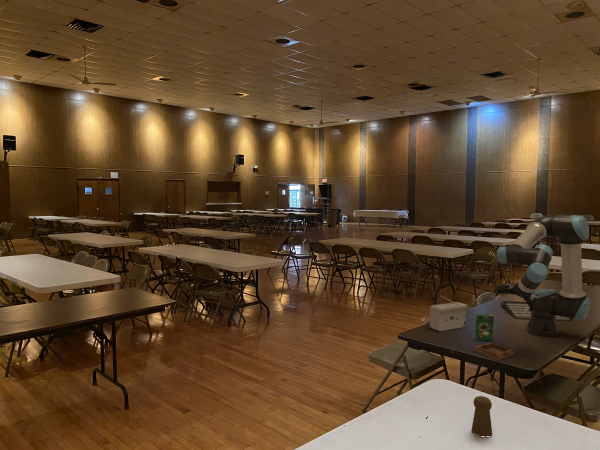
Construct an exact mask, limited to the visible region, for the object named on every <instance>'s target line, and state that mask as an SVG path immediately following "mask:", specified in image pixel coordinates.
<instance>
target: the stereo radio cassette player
mask: <svg viewBox="0 0 600 450" xmlns="http://www.w3.org/2000/svg"><path fill="white" fill-rule="evenodd" d="M440 297H442V295H440ZM443 298H444V299H445V300H447V301H449V303H440V304H434V305H430V307H429V327H430V328H431V329H432V330H435V331H439V333H440V332H442V331H443V332H444V331H449V330H457V329H461V328H462V329H463V328H466V325H467V308H468V305H467V304H466V303H464V302H463V303H461V302H459V301H456V302H455V301H452V300H451V299H449V298H447V297H444V296H443Z"/></svg>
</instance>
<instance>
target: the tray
mask: <svg viewBox="0 0 600 450" xmlns="http://www.w3.org/2000/svg"><path fill="white" fill-rule="evenodd" d="M474 353H477V354H479V355H481V356H484V357H488V358H490V359H493V360H497V361H501V360H503V359H507V358H510V357H513V356H515V349H513V348H509V347H506V346H505V345H501V344H498V343H497V344H496V343H494V342H493V341H490V342H488V343H484V344H481V345H477V346H474Z"/></svg>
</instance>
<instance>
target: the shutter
mask: <svg viewBox="0 0 600 450" xmlns="http://www.w3.org/2000/svg"><path fill="white" fill-rule="evenodd" d="M527 306H528V304H527V302H526V301H514V300H513V301H512V300H510V301H508V300H507V301H506V300H503V301H501V302H500V307H501V309H502V308H505V309H507V311H508V313H509V314H510V315H511V317H512V318H513V319H514V318H515V319H514V320H530V318H531V311H527V312H526V314H523V313H524V310H525V308H526V307H527ZM572 321H573V322H574V319H572V318H566V317H561V316H556V322H572Z"/></svg>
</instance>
